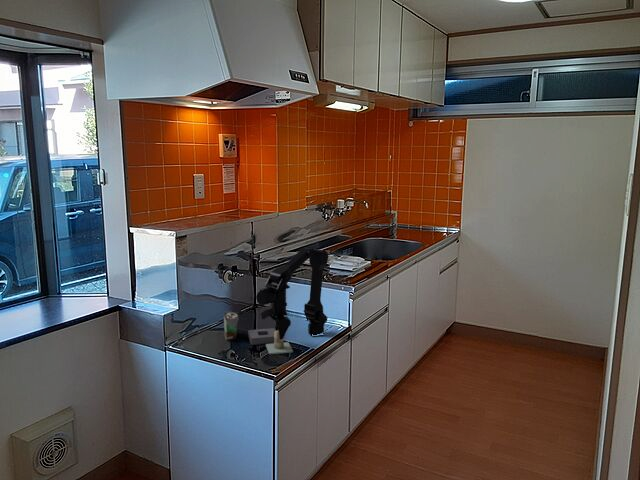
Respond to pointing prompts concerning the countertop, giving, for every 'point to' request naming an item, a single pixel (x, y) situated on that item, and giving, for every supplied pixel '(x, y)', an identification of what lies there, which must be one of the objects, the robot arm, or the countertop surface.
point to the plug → (278, 341)
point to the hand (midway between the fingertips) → (279, 335)
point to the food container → (230, 325)
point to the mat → (286, 349)
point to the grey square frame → (261, 336)
